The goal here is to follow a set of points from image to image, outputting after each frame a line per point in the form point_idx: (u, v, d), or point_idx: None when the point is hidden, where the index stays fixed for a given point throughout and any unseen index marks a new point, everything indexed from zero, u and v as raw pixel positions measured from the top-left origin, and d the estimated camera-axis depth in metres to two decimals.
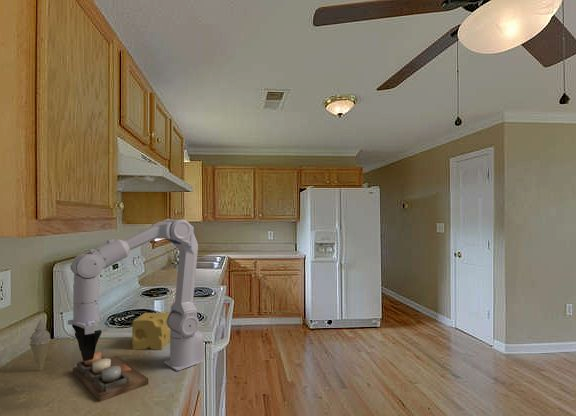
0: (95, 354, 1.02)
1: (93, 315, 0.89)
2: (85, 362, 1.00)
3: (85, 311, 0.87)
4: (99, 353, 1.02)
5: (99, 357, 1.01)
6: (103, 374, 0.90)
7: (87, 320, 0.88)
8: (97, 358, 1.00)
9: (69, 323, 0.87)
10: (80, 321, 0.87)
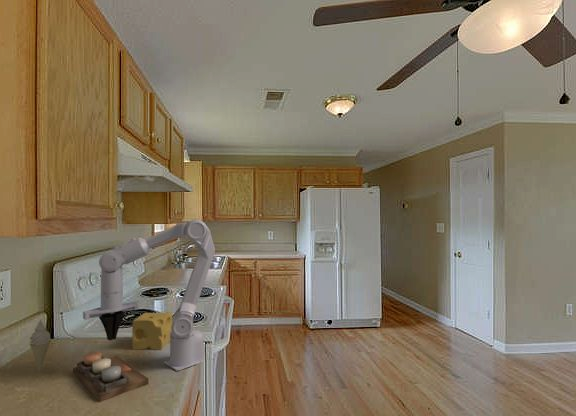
0: (95, 354, 1.02)
1: (104, 306, 1.00)
2: (85, 362, 1.00)
3: None
4: (99, 353, 1.02)
5: (99, 357, 1.01)
6: (103, 374, 0.90)
7: (101, 308, 1.00)
8: (97, 358, 1.00)
9: None
10: (100, 307, 1.02)
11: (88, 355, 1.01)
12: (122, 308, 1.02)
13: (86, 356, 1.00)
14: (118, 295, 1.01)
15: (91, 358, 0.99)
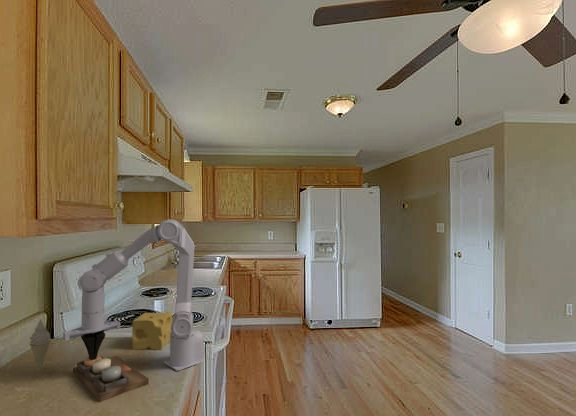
0: None
1: (85, 326, 0.99)
2: (85, 366, 1.00)
3: None
4: (99, 357, 1.02)
5: None
6: (103, 374, 0.90)
7: (81, 328, 1.00)
8: None
9: None
10: None
11: (88, 359, 1.01)
12: (103, 328, 1.01)
13: (86, 360, 1.00)
14: (99, 315, 1.00)
15: (91, 362, 0.99)
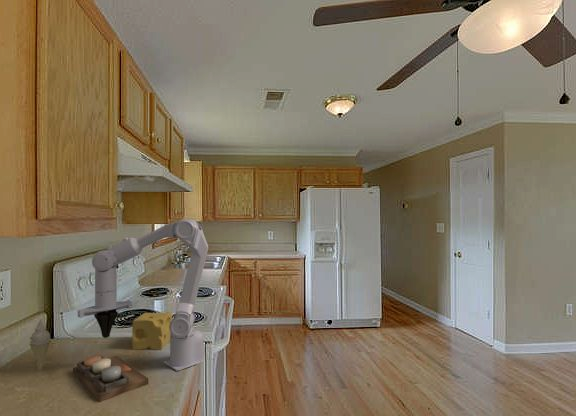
0: (95, 358, 1.02)
1: (98, 304, 1.02)
2: (85, 366, 1.00)
3: (95, 298, 1.03)
4: (99, 357, 1.02)
5: None
6: (103, 374, 0.90)
7: (95, 306, 1.03)
8: None
9: None
10: None
11: (88, 359, 1.01)
12: (116, 306, 1.05)
13: (86, 360, 1.00)
14: (112, 294, 1.04)
15: (91, 362, 0.99)
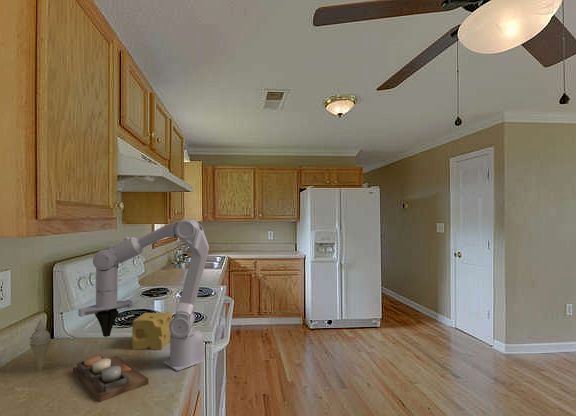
0: (95, 358, 1.02)
1: (99, 303, 1.03)
2: (85, 366, 1.00)
3: None
4: (99, 357, 1.02)
5: None
6: (103, 374, 0.90)
7: (96, 305, 1.03)
8: None
9: None
10: None
11: (88, 359, 1.01)
12: (117, 305, 1.05)
13: (86, 360, 1.00)
14: (113, 293, 1.04)
15: (91, 362, 0.99)
